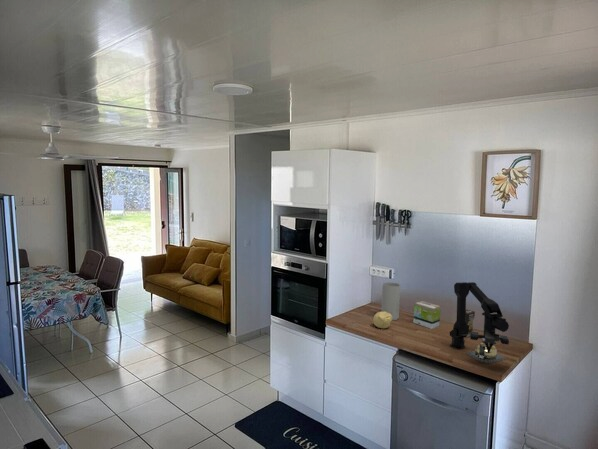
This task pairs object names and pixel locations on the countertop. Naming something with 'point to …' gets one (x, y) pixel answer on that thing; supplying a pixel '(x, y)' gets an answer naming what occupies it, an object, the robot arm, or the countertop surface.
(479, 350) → the yellow-green irregular lump
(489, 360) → the mounting plate
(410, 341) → the countertop surface
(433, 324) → the tea box
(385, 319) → the yellow crumpled ball
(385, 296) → the cylinder vase
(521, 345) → the countertop surface
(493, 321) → the robot arm
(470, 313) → the coffee box
